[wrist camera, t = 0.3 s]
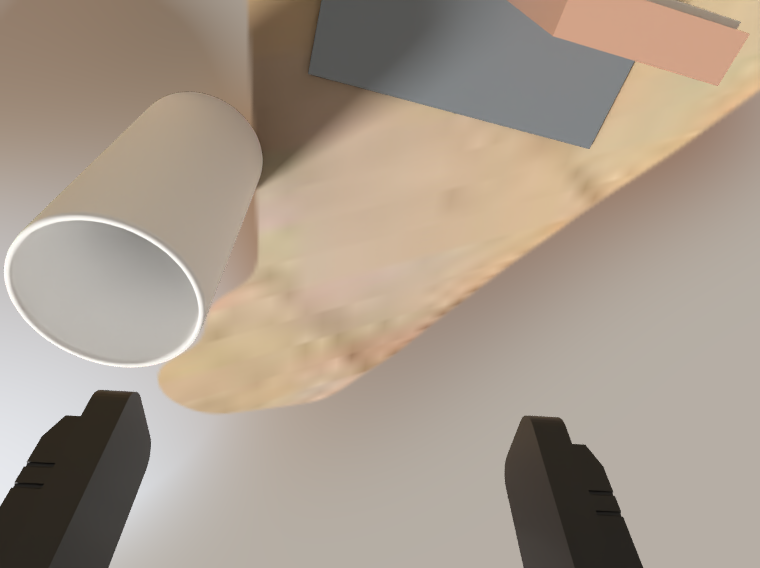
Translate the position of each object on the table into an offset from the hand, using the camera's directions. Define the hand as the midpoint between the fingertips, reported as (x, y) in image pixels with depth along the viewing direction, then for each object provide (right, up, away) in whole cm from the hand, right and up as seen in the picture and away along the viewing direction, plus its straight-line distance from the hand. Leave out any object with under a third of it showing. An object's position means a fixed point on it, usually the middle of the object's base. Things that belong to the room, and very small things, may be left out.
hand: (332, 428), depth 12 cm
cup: (-11, +12, +25) cm, 30 cm away
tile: (+12, +19, +19) cm, 30 cm away
